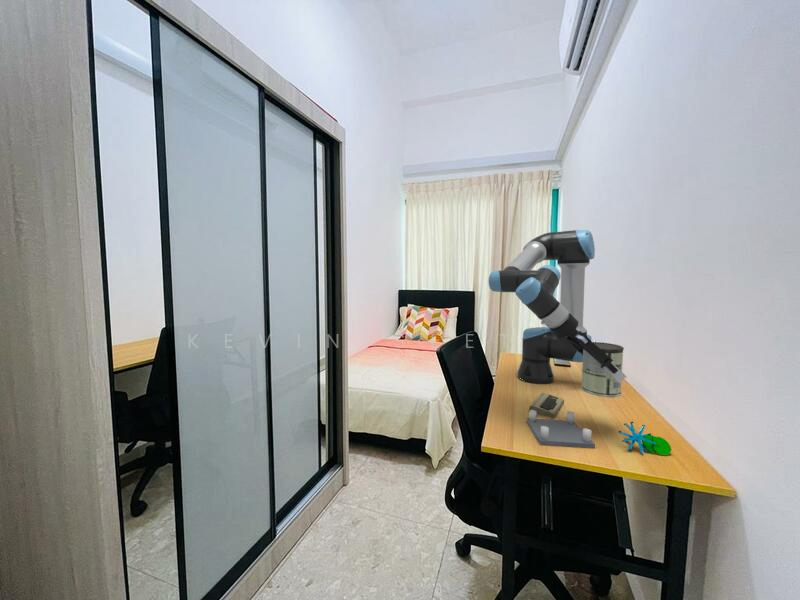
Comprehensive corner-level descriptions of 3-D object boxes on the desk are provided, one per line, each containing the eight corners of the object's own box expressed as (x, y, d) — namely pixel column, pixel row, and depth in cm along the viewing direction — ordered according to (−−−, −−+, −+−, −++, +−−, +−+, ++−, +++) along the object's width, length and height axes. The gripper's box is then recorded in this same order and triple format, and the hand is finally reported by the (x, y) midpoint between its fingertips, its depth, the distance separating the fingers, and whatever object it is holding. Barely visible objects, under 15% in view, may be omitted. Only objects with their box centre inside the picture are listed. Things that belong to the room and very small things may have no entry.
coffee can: (585, 383, 104) (588, 340, 103) (624, 391, 97) (626, 345, 96) (576, 391, 97) (578, 345, 96) (617, 400, 90) (619, 351, 88)
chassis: (526, 421, 101) (526, 408, 101) (573, 424, 99) (573, 411, 99) (540, 444, 87) (540, 429, 87) (595, 448, 85) (595, 433, 85)
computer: (554, 420, 103) (554, 410, 103) (528, 413, 108) (528, 403, 108) (564, 405, 116) (564, 396, 116) (540, 399, 121) (540, 391, 121)
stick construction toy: (621, 445, 83) (624, 416, 86) (608, 448, 89) (611, 420, 92) (674, 465, 80) (674, 434, 83) (656, 467, 86) (658, 438, 89)
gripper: (538, 323, 108) (585, 371, 108) (564, 336, 86) (623, 395, 85) (555, 308, 107) (602, 356, 107) (586, 316, 85) (646, 377, 84)
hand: (612, 373), depth 96 cm, fingers closed on coffee can, 10 cm apart
